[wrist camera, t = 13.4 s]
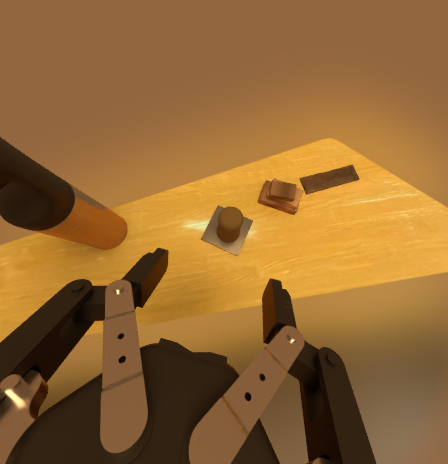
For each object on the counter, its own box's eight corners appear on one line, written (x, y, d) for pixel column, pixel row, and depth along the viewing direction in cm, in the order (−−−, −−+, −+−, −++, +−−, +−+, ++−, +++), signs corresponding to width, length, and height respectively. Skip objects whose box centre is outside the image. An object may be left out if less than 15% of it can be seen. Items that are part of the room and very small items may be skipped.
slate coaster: (201, 239, 46) (201, 238, 45) (218, 206, 48) (218, 205, 48) (237, 256, 45) (237, 255, 44) (252, 221, 47) (253, 220, 47)
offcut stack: (258, 202, 49) (262, 193, 44) (264, 183, 50) (269, 172, 45) (293, 214, 48) (302, 206, 43) (298, 195, 50) (308, 185, 45)
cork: (211, 228, 46) (209, 213, 35) (230, 215, 47) (234, 196, 36) (225, 247, 45) (228, 237, 34) (245, 233, 46) (252, 219, 35)
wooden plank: (307, 193, 49) (300, 177, 50) (305, 195, 50) (298, 179, 51) (360, 178, 51) (352, 163, 52) (356, 181, 52) (349, 166, 53)
